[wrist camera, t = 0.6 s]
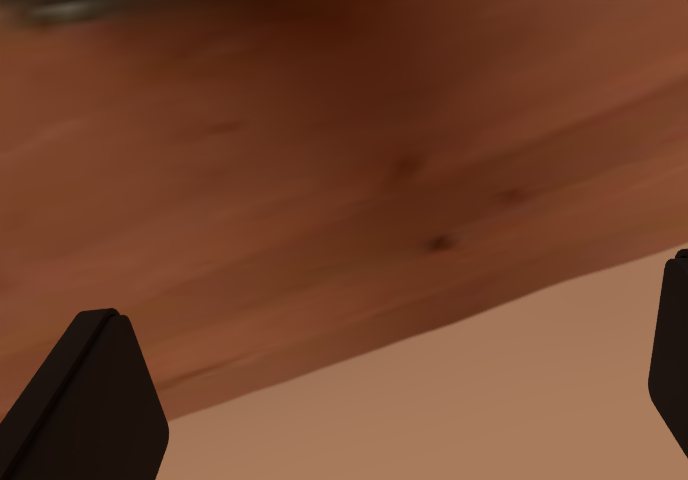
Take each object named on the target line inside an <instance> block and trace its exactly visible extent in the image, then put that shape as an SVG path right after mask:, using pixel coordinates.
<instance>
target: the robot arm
mask: <svg viewBox="0 0 688 480" xmlns="http://www.w3.org/2000/svg"><path fill="white" fill-rule="evenodd" d="M648 389H649V394H650V397H651V400H652V402H653V403H654V405H655V407H656V409H657V410H658V412H659V413H660V415H661V416H662V418H663V420H664V421H665V423H666V425H667V426H668V428H669V429H670V431H671V432H672V434H673V436H674V437H675V439H676V440H677V442H678V444H679V445H680V447H681V448H682V450H683V452H684V453H685V455H686V456H687V458H688V249H681V250H680V251H678V252H677V254H676V256H675V259H670V260H668V261H667V262H666V264H665V268H664V276H663V282H662V289H661V296H660V303H659V310H658V317H657V323H656V330H655V337H654V345H653V351H652V358H651V366H650V372H649V379H648ZM168 440H169V427H168V423H167V420H166V418H165V415H164V412H163V409H162V407H161V404H160V401H159V398H158V396H157V393H156V390H155V388H154V385H153V382H152V379H151V377H150V374H149V371H148V368H147V366H146V363H145V360H144V357H143V355H142V352H141V349H140V347H139V344H138V341H137V338H136V336H135V333H134V330H133V327H132V325H131V322H130V320H129V318H128V317H127V316H125V315H120V314H119V312H118V311H117V310H116V309H113V308H108V309H99V310H89V311H82V312H80V313H79V314H77V315H76V317H75V318H74V320H73V321H72V323H71V324H70V325H69V327H68V328H67V330H66V331H65V333H64V334H63V335H62V337H61V338H60V340H59V341H58V342H57V344H56V345H55V347H54V348H53V350H52V351H51V352H50V354H49V355H48V357H47V358H46V359H45V361H44V362H43V364H42V365H41V367H40V368H39V369H38V371H37V372H36V374H35V375H34V377H33V378H32V379H31V381H30V382H29V384H28V385H27V386H26V388H25V389H24V391H23V392H22V394H21V395H20V396H19V398H18V399H17V401H16V402H15V404H14V405H13V406H12V408H11V409H10V411H9V412H8V413H7V415H6V416H5V418H4V419H3V421H2V422H1V423H0V480H155V479H156V476H157V473H158V471H159V467H160V465H161V462H162V459H163V456H164V454H165V451H166V448H167V444H168Z"/></svg>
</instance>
